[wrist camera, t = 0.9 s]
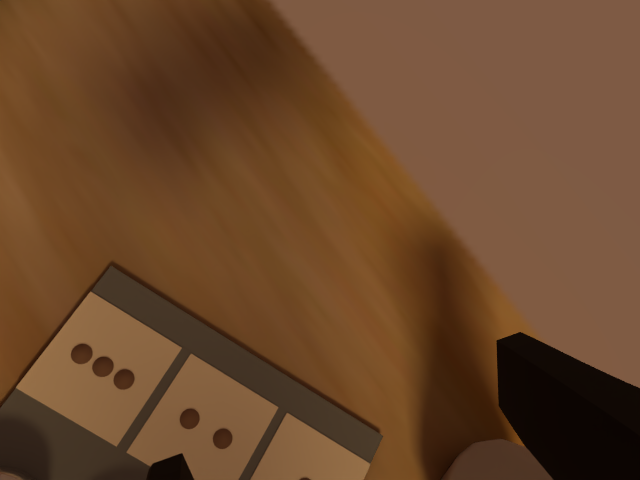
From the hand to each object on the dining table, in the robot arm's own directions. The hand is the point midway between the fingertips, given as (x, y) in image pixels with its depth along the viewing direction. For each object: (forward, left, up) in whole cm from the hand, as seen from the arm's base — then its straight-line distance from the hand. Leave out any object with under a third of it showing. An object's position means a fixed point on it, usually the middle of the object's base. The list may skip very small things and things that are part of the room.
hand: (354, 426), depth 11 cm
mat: (-5, +1, -15) cm, 16 cm away
